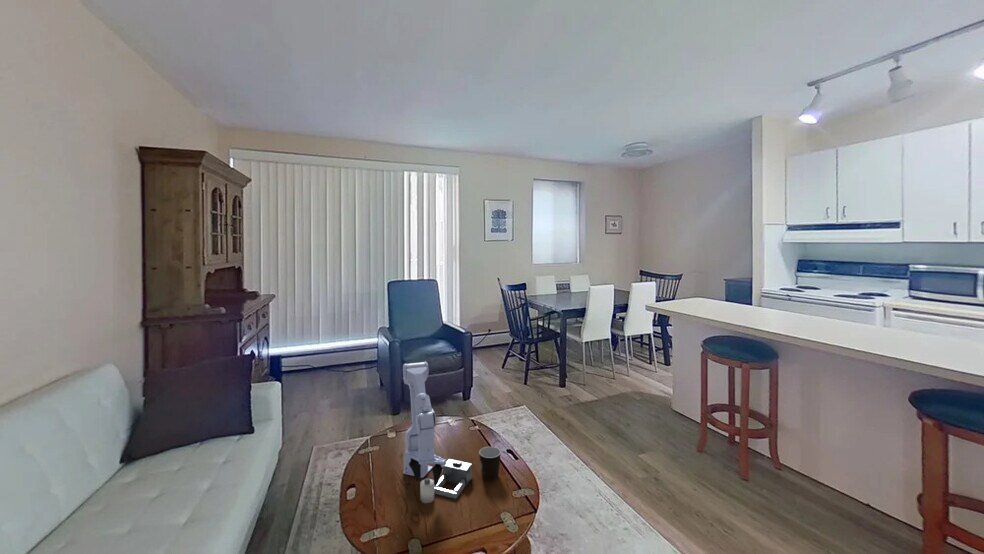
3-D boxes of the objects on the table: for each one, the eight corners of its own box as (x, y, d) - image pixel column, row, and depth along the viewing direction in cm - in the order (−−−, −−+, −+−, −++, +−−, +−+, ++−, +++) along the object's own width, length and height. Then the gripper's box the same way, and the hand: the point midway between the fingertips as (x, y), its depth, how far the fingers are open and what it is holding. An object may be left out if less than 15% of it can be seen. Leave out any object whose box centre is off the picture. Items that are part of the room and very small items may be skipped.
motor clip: (471, 478, 154) (471, 461, 153) (456, 499, 141) (456, 480, 141) (443, 471, 158) (443, 455, 158) (426, 491, 146) (426, 473, 145)
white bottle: (417, 501, 140) (417, 482, 139) (425, 493, 145) (424, 474, 144) (430, 504, 138) (429, 485, 138) (437, 496, 143) (436, 477, 142)
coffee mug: (498, 483, 150) (498, 458, 149) (477, 481, 152) (476, 456, 151) (503, 467, 161) (503, 443, 161) (483, 465, 163) (483, 442, 162)
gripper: (402, 447, 139) (403, 483, 140) (438, 454, 134) (439, 492, 135) (413, 437, 145) (414, 473, 146) (448, 444, 140) (449, 480, 141)
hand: (427, 481), depth 141 cm, fingers open, 7 cm apart
